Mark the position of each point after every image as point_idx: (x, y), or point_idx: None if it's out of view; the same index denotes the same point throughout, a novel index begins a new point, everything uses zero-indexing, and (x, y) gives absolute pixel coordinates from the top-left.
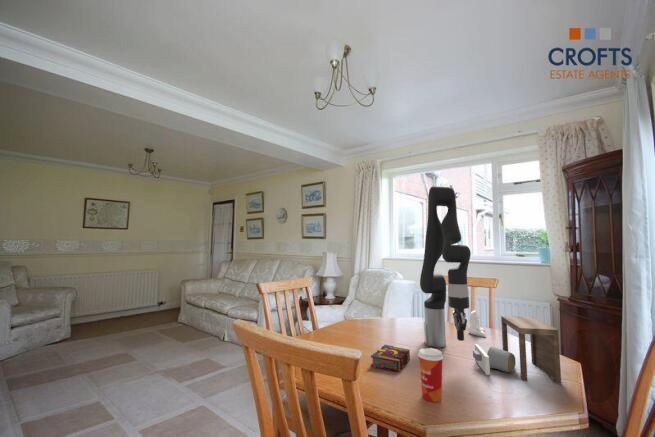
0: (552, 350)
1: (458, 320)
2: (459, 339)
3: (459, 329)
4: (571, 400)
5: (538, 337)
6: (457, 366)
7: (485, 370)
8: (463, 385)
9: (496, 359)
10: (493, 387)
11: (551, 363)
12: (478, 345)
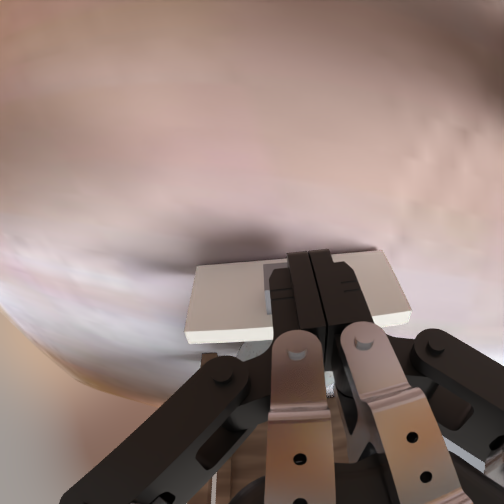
0: (228, 479)
1: (237, 500)
2: (288, 266)
3: (200, 376)
4: (129, 392)
5: None
6: (282, 144)
7: (206, 275)
8: (47, 161)
9: (257, 349)
10: (91, 265)
11: (258, 438)
12: (385, 325)
